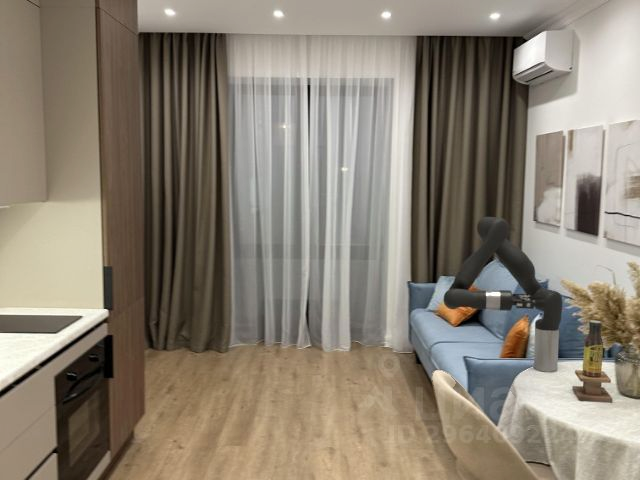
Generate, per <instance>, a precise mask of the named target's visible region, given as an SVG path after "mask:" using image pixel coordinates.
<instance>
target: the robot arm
mask: <svg viewBox="0 0 640 480" xmlns="http://www.w3.org/2000/svg"><path fill="white" fill-rule="evenodd" d="M476 230H477V234H478V236H479V237H480V239H481V240H482V241H483V243H482V245H481V246H479V248H477V249H476V251H475V252H473V253H472V254H471V255H470V256H469V257H468V258H467V259H465V261H464V262H463V263H462V264H461V266H460V268H459V270H458V272H457V273H456V275H455V277H454V280H453V282H452V284H450V287H449V288H448V289H447V290H446V292H444V294H443V303H444V306H445V307H446V308H448V309H450V310H456V309H458V308H471V309H474V310H488V311H505V312H506V311H507V312H509V311H512V309H513V306H514V307H515V306H516V307H515V308H517V309H527V310H528V309H531V310H534V309H536V310H538V311H540V312H543V317H542V318H539V319H536V320H535V322H534V348H533V349H534V351H533V352H534V353H533V354H534V355H533V368H534V369H535V370H537V371H540V372H544V373H545V372H546V373H547V372H548V373H552V372H553V373H554V372H556V371H558V367H559V366H558V361H559V337H560V336H559V333H560V331H559V330H560V329H559V328H560V324H561V321H562V315H563V296H562V294H561V293H560V292H558V291H555V290H552V289H547V288H545V287H543V286H542V285H541V284H540V283H539V281H538V280H537V278H536V268H535V264H533V262H532V261H531V259H530V258H529V257H528V255H527V254H526V253H525V252H524V251H523V250H522V249H520V248H519V247H518V246H516V245H515V244H513V243H512V242H510V240H508V239H507V237H508V236H509V233H510V225H509V222H508V221H507V220H506V219H504V218H501V217H496V216H494V217H493V216H485V217H482V218H480V219H479V220H478V222H477V225H476ZM494 254H495V255H496V256H497V257H498V259H499V260H500V262H501V263H502V264H503V265H504V267H505V269H506V270H507V271H508V272H509V274H510V275H511V276H512V277H513V278H514V280H515V281H516V282H517V283H518V285H519V287H521V289H522V290H523V292H524V293H513V292H512V291H511V290H507V289H506V290H502V289H491V290H490V289H489V290H477V289H475V290H470V289H471V287H472V286H473V284H474V283H475V282H476V280H477V278H478V276H479V275H480V273H481V271H482V270H483V268H484V266H485V265H486V264H487V262H488V261H489V260H490V259H491V258H492V256H493V255H494Z"/></svg>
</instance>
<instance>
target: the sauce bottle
mask: <svg viewBox="0 0 640 480" xmlns="http://www.w3.org/2000/svg"><path fill="white" fill-rule="evenodd" d="M588 323H589V324H588V325H589V331H588V334H587V335H586V337H585V339H584V345H583V357H582V358H583V359H582V360H583V361H582V370H583V374H584V375H586V376H591V377H598V376H600V375H601V371H602V369H603V368H602V367H603V353H604V343H603V338H602V335H601V334H602V332H601V329H602V323H603V322H602V321H601V322H600V320H593V319H592V320H589V321H588Z"/></svg>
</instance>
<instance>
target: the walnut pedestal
mask: <svg viewBox="0 0 640 480" xmlns="http://www.w3.org/2000/svg"><path fill="white" fill-rule="evenodd" d="M574 375H576V377H577V378H578V380H579V381H580V382H582V386H579V385H572V388H571V389H572V391H573V393H574V395H575V397H576V398H577V400H578V402H595V403H597V402H598V403H609V404H610V403H613V397H612V396H611V395H610V393H609V392H608V391H607V390H606V388H605V387H602V383H604V384H605V383H606V384H611V383H612V380H611V378H610V376H608V374H606V372H605V371H603V370H601V375H600V376H598V377H591V376H586V375H584V374H583V369H575V370H574Z"/></svg>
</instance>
